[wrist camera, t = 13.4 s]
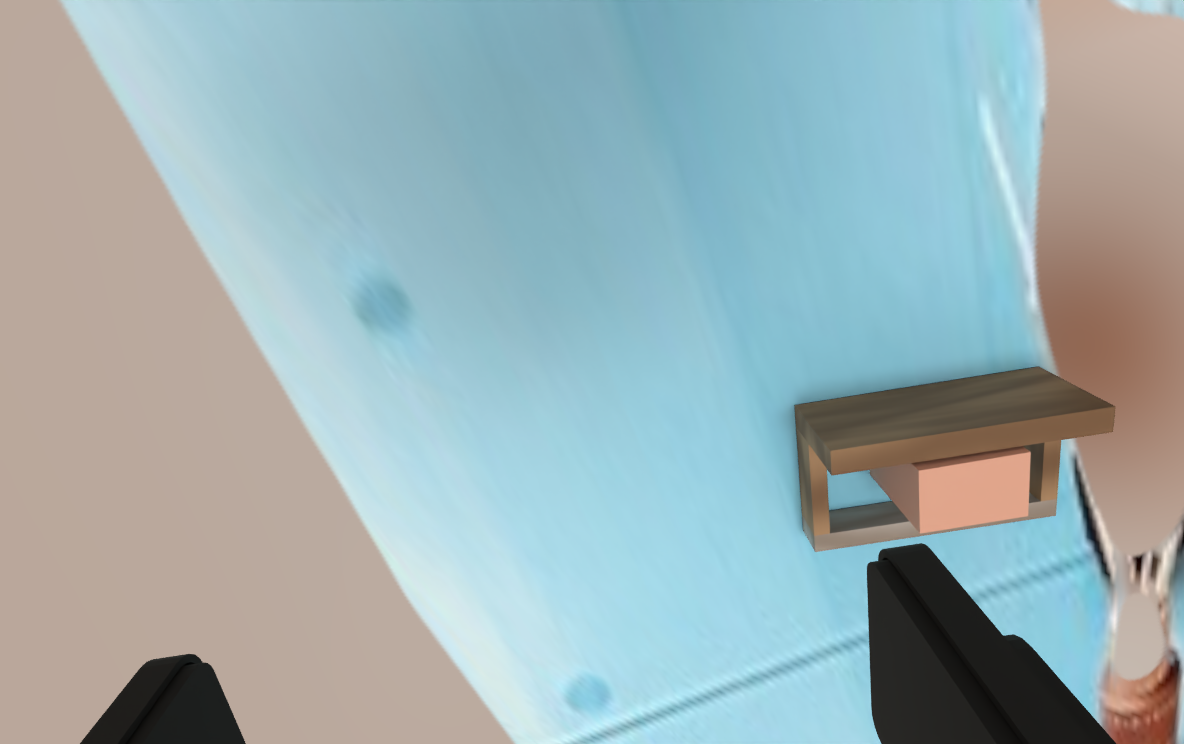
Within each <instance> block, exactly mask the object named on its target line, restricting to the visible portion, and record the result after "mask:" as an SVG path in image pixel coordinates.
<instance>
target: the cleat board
mask: <svg viewBox="0 0 1184 744" xmlns="http://www.w3.org/2000/svg"><path fill="white" fill-rule="evenodd" d="M1114 417H1115V406H1113V405H1111V404H1110V403H1108V402H1106V401H1104V400H1102V399H1100V398H1098V397H1096V396H1094V395H1092V394H1090V393H1088V392H1087V391H1085V390H1082V389H1081V388H1079V387H1077V386H1075V385H1073V384H1071V383H1069V382H1067V381H1065V380H1064V379H1062V378H1060V377H1058V376H1056V375H1054V374H1052V373H1050V372H1048V371H1046V370H1044V369H1042V368H1040V367H1033V368H1027V369H1020V370H1014V371H1008V372H1001V373H995V374H989V375H982V376H976V377H970V378H963V379H957V380H951V381H944V382H938V383H932V384H925V385H919V386H913V387H906V388H900V389H894V390H887V391H881V392H875V393H868V394H862V395H856V396H849V397H843V398H837V399H830V400H824V401H818V402H811V403H805V404H799V405H795V420H796V434H797V449H798V463H799V478H800V492H801V507H802V521H803V531H804V533H805V535H806V536H807V538H808V540H809V542H810V543H811V545H812V547H813V549H814V551H815V552H818V551H825V550H831V549H838V548H845V547H851V546H858V545H864V544H871V543H878V542H884V541H891V540H898V539H904V538H911V537H917V536H924V535H931V534H937V533H944V532H950V531H957V530H964V529H970V528H977V527H983V526H990V525H997V524H1003V523H1010V522H1016V521H1023V520H1030V519H1036V518H1043V517H1050V516H1056V505H1057V491H1058V477H1059V464H1060V450H1061V440H1064V439H1071V438H1077V437H1084V436H1090V435H1096V434H1103V433H1109V432H1113V426H1114ZM1019 446H1023V447H1024V448H1026V449H1027V450H1028V451H1030V452H1031V458H1030V483H1029V508H1028V516H1026V517H1020V518H1013V519H1007V520H1001V521H995V522H989V523H983V524H977V525H971V526H964V527H958V528H952V529H946V530H940V531H934V532H928V533H922V534H920V533H919V532H918V531H917V530H916V528H915V527H914V526H913V525H912V524H911V523H910V521H909V520H908V519H907V518H906V517H905V515H904V514H903V513H902V512H901V511H900V509H899V508H898V507H897V506H896V505H895V504H894V502H893V501H890V502H884V503H877V504H871V505H864V506H858V507H851V508H845V509H838V510H832V511H829V504H828V486H827V470H828V471H829V472H830V474H831V475H838V474H844V473H851V472H857V471H864V470H870V469H877V468H883V467H890V466H896V465H902V464H909V463H915V462H922V461H928V460H935V459H941V458H948V457H954V456H961V455H967V454H974V453H980V452H987V451H993V450H999V449H1006V448H1012V447H1019Z"/></svg>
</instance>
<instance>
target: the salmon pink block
mask: <svg viewBox="0 0 1184 744" xmlns="http://www.w3.org/2000/svg"><path fill="white" fill-rule="evenodd" d="M1030 458H1031V452H1030V451H1028V450H1027V449H1026V448H1024V447H1023V446H1019V447H1012V448H1006V449H999V450H993V451H987V452H980V453H974V454H967V455H961V456H954V457H948V458H941V459H935V460H928V461H922V462H915V463H909V464H902V465H896V466H890V467H883V468H877V469H870V475H871V476H872V477H873V479H874V480H875V481H876V482H877V483H878V485H879V486H880V487H881V488H882V489H883V491H884V492H885V493H886V494H887V495H888V496H889V498H890V499H891V500H892V501H893V502H894V504H895V505H896V506H897V507H898V508H899V509H900V511H901V512H902V513H903V514H904V515H905V517H906V518H907V519H908V520H909V521H910V523H911V524H912V525H913V526H914V527H915V528H916V530H917V531H918V532H919V533H920V534H922V533H928V532H934V531H940V530H946V529H952V528H958V527H964V526H971V525H977V524H983V523H989V522H995V521H1001V520H1007V519H1013V518H1020V517H1026V516H1028V508H1029V483H1030Z"/></svg>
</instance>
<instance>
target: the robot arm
mask: <svg viewBox="0 0 1184 744" xmlns="http://www.w3.org/2000/svg"><path fill="white" fill-rule="evenodd" d="M867 588H868V617H869V647H870V676H871V706H872V716H873V721H874V725H875V728H876V731H877V734H878V737H879V739H880V741H881V743H882V744H1116V743H1115V742H1114V740H1113V739H1112V738H1111V737H1110V736H1109V735H1108V734H1107V732H1106V731H1105V730H1104V729H1103V728H1102V727H1101V726H1100V724H1099V723H1098V722H1097V721H1096V720H1095V719H1094V718H1093V716H1092V715H1091V714H1090V713H1089V712H1088V711H1087V710H1086V708H1085V707H1084V706H1083V705H1082V704H1081V703H1080V702H1079V700H1078V699H1077V698H1076V697H1075V696H1074V695H1073V694H1072V693H1071V691H1070V690H1069V689H1068V688H1067V687H1066V686H1065V685H1064V683H1063V682H1062V681H1061V680H1060V679H1059V678H1058V677H1057V675H1056V674H1055V673H1054V672H1053V671H1052V670H1051V669H1050V667H1049V666H1048V665H1047V664H1046V663H1045V662H1044V661H1043V659H1042V658H1041V657H1040V656H1039V655H1038V654H1037V653H1036V651H1035V650H1034V649H1033V648H1032V647H1031V646H1030V645H1029V644H1028V643H1027V642H1026V641H1025V640H1023V639H1022V638H1020V637H1018V636H1016V635H1014V634H1013V635H1006V636H1003V635H1002V634H1001V633H1000V631H999V630H998V629H997V628H996V627H995V625H994V624H993V623H992V622H991V621H990V620H989V618H988V617H987V616H986V615H985V614H984V612H983V611H982V610H981V609H980V608H979V606H978V605H977V604H976V603H975V602H974V600H973V599H972V598H971V597H970V596H969V595H968V593H967V592H966V591H965V590H964V589H963V587H962V586H961V585H960V584H959V583H958V581H957V580H956V579H955V578H954V577H953V575H952V574H951V573H950V572H949V571H948V570H947V568H946V567H945V566H944V565H943V564H942V562H941V561H940V560H939V559H938V558H937V556H936V555H935V554H934V553H933V552H932V550H931V549H930V548H929V547H928V546H926V545H925V544H922V543H921V544H914V545H908V546H901V547H895V548H888V549H882V550H881V551H880V553H879V557H878V561H875V562H870V563H868V566H867ZM80 744H246V743H245V741H244V739H243V736H242V734H241V732H240V729H239V727H238V725H237V723H236V720H235V718H234V715H233V713H232V711H231V709H230V706H229V704H228V702H227V700H226V697H225V695H224V692H223V690H222V688H221V686H220V683H219V681H218V679H217V677H216V674H215V672H214V670H213V668H212V667H211V665H209V664H208V663H202V661H201V659H200V658H199V657H197V656H196V655H194V654H186V655H179V656H173V657H166V658H160V659H153V660H150V661H148V662H146V663H145V664H144V665H143V666H142V667H141V668H140V669H139V670H138V672H137V673H136V674H135V675H134V677H133V678H132V679H131V680H130V682H129V683H128V684H127V685H126V687H125V688H124V689H123V691H122V692H121V693H120V694H119V695H118V697H117V698H116V699H115V700H114V702H113V703H112V704H111V705H110V707H109V708H108V709H107V711H106V712H105V713H104V714H103V715H102V717H101V718H100V719H99V720H98V722H97V723H96V724H95V725H94V727H93V728H92V729H91V730H90V732H89V733H88V734H87V735H86V737H85V738H84V739H83V740H82V742H81V743H80Z"/></svg>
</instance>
